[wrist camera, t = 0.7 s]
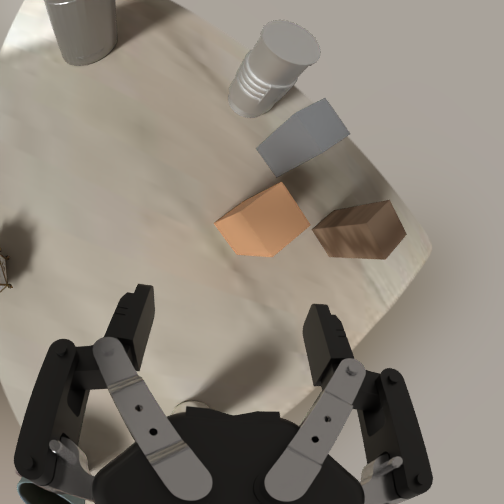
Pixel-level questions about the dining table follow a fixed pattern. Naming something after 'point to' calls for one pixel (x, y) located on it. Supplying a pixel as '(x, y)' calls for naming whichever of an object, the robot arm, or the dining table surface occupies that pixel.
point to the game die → (3, 273)
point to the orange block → (263, 223)
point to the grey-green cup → (43, 495)
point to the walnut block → (361, 231)
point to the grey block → (302, 137)
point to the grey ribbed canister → (272, 67)
